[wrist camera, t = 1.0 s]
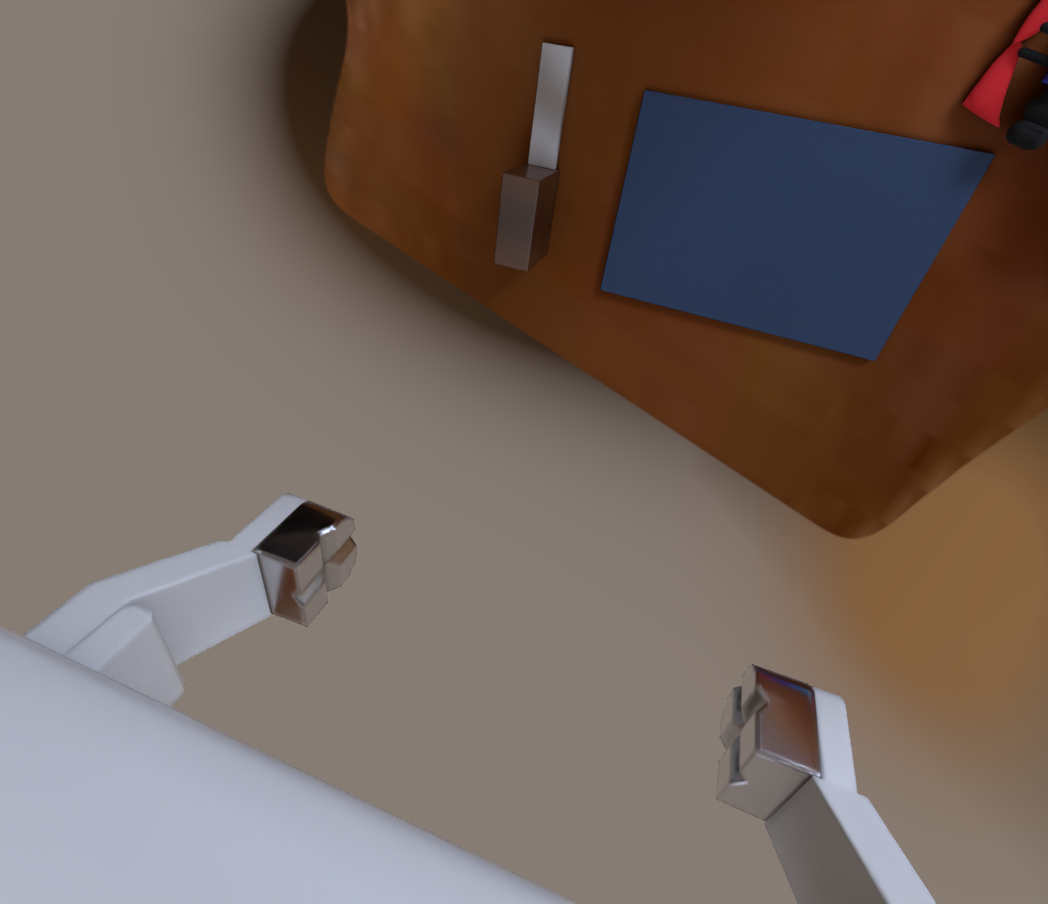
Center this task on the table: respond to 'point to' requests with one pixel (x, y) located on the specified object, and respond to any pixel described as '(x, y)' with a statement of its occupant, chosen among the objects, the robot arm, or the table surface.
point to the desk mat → (783, 220)
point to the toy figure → (987, 97)
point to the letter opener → (535, 170)
